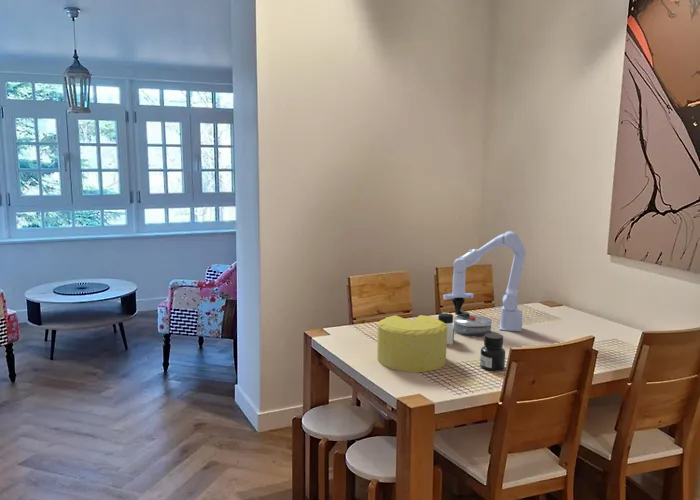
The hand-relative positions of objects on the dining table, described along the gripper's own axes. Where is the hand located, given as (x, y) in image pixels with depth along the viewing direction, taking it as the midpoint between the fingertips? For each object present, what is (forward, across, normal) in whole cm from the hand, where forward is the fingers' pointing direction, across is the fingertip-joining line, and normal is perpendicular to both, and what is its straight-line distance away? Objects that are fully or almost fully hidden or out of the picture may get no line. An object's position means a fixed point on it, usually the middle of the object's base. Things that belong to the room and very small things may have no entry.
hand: (457, 313), depth 276 cm
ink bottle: (+6, +14, +54) cm, 56 cm away
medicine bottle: (+6, +17, +21) cm, 27 cm away
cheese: (+6, +39, +38) cm, 55 cm away
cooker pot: (+5, -3, +9) cm, 11 cm away
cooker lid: (+1, -2, +8) cm, 8 cm away
